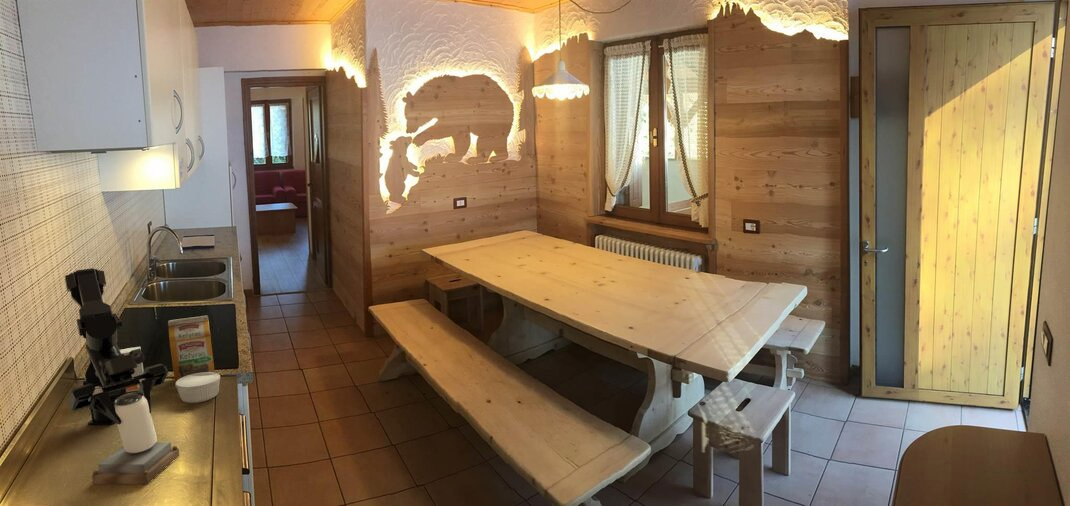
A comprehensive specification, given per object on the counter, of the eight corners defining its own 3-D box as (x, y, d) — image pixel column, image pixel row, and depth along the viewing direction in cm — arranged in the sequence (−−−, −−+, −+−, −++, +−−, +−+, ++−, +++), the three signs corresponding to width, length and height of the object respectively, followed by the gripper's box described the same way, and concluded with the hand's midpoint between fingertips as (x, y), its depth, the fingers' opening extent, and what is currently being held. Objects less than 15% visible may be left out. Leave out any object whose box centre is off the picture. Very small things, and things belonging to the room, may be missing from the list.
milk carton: (214, 370, 209) (207, 311, 205) (215, 381, 199) (208, 320, 196) (176, 376, 204) (168, 316, 200) (175, 388, 195) (167, 325, 191)
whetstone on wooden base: (93, 483, 143) (90, 466, 143) (128, 456, 155) (126, 440, 154) (147, 484, 143) (145, 466, 142) (179, 456, 155) (177, 440, 154)
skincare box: (120, 394, 191) (115, 354, 189) (122, 388, 195) (116, 349, 193) (145, 389, 194) (139, 350, 192) (146, 384, 198) (140, 346, 195)
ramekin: (224, 386, 196) (222, 369, 195) (219, 401, 185) (217, 383, 184) (181, 392, 192) (179, 374, 191) (174, 407, 182) (171, 389, 181)
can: (142, 455, 146) (129, 407, 142) (117, 452, 148) (104, 405, 144) (164, 438, 152) (152, 392, 148) (140, 435, 154) (127, 389, 150)
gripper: (64, 352, 139) (93, 416, 134) (159, 329, 153) (187, 386, 149) (57, 379, 145) (84, 441, 141) (148, 355, 160) (175, 410, 155)
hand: (135, 418), depth 146 cm, fingers closed on can, 6 cm apart
